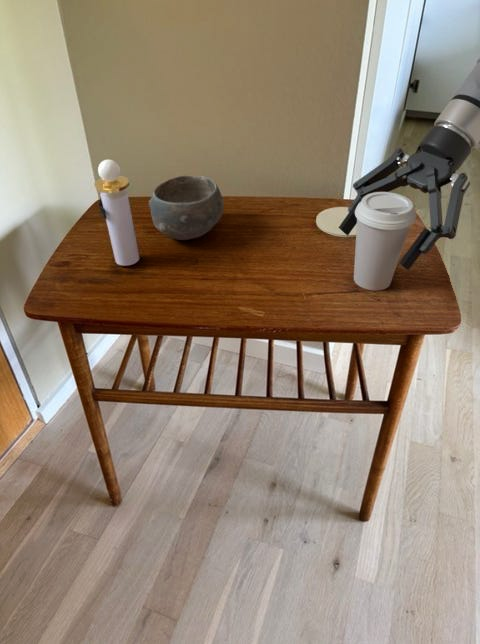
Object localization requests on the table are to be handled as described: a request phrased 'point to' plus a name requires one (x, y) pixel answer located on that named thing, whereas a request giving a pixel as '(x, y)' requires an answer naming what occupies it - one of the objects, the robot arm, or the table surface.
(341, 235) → the cream mat
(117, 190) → the perfume bottle
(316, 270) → the table surface
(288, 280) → the table surface
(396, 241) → the coffee cup
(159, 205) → the bowl
